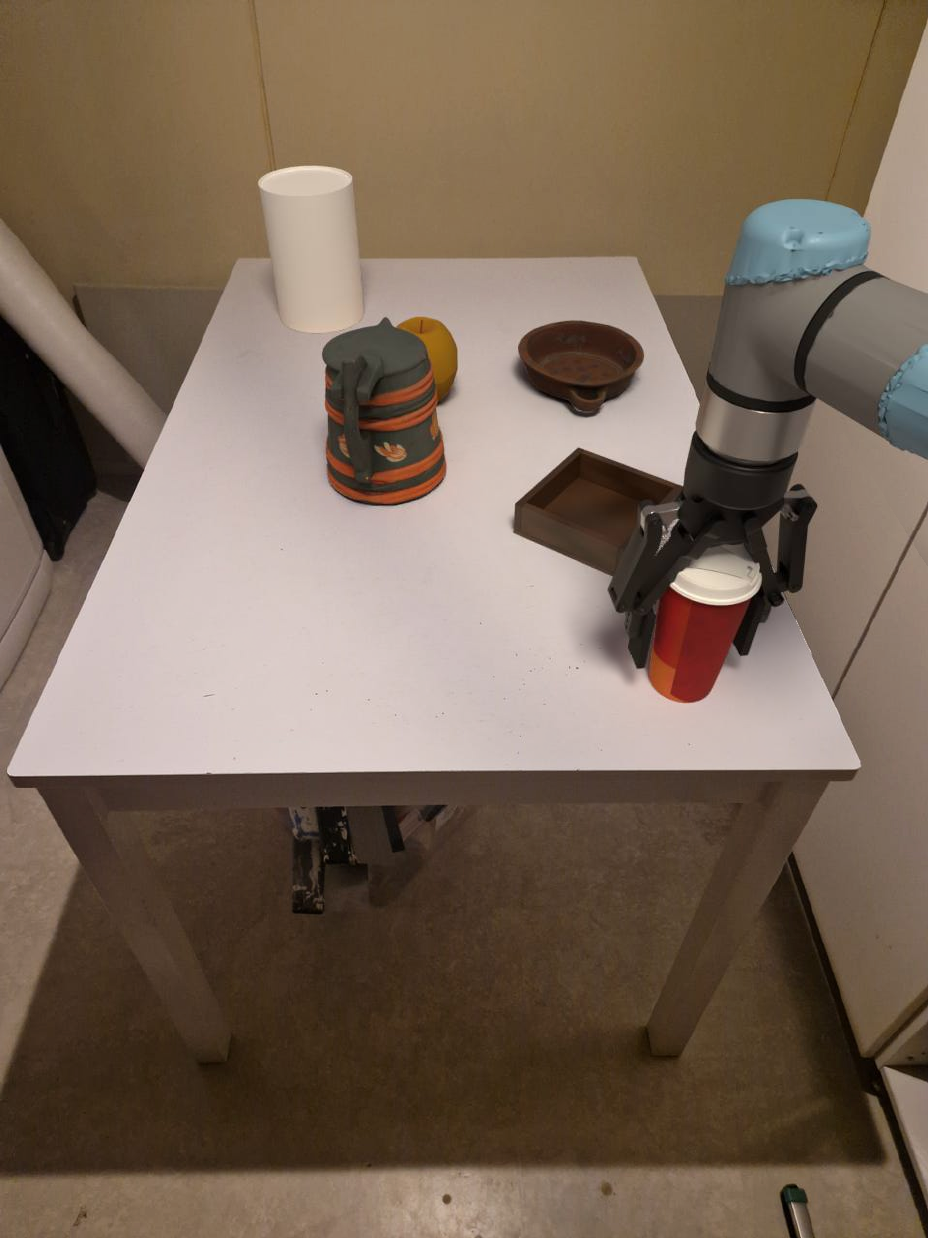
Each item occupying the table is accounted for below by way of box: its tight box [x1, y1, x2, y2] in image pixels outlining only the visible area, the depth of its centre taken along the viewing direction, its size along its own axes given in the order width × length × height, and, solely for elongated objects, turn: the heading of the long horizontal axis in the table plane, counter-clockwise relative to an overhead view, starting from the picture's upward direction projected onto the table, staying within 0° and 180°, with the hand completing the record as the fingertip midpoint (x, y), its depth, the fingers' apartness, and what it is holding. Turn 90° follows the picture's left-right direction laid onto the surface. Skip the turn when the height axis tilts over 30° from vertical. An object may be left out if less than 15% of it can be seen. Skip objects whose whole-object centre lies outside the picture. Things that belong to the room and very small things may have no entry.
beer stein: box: [321, 316, 447, 505], centre depth 93 cm, size 19×15×20 cm
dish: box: [517, 319, 645, 413], centre depth 116 cm, size 18×22×5 cm
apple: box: [395, 316, 459, 403], centre depth 110 cm, size 10×10×12 cm
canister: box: [257, 165, 365, 334], centre depth 127 cm, size 14×14×20 cm
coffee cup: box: [648, 536, 762, 704], centre depth 73 cm, size 8×8×15 cm
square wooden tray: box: [513, 446, 683, 577], centre depth 93 cm, size 14×14×4 cm
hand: (687, 651), depth 75 cm, fingers open, 9 cm apart
